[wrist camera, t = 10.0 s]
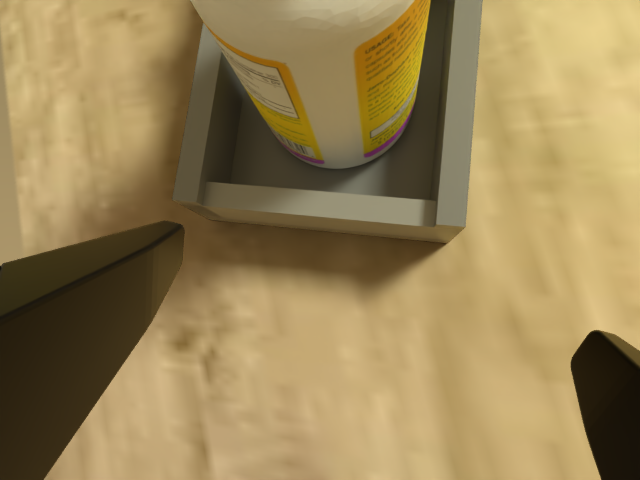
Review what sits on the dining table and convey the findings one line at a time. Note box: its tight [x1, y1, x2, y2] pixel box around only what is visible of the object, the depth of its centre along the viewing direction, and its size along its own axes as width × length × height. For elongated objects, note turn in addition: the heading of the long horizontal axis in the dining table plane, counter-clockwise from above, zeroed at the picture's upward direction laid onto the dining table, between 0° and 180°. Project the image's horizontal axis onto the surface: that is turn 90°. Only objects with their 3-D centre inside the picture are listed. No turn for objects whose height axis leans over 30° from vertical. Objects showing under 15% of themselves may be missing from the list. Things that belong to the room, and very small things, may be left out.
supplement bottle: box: [190, 0, 431, 169], centre depth 13 cm, size 7×7×13 cm
